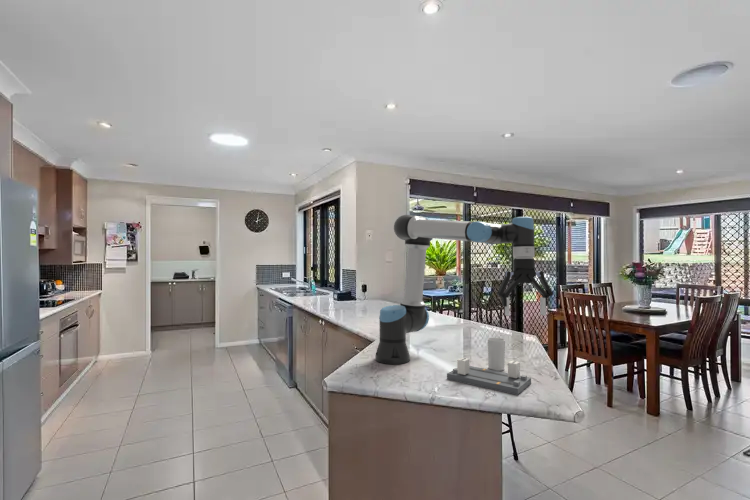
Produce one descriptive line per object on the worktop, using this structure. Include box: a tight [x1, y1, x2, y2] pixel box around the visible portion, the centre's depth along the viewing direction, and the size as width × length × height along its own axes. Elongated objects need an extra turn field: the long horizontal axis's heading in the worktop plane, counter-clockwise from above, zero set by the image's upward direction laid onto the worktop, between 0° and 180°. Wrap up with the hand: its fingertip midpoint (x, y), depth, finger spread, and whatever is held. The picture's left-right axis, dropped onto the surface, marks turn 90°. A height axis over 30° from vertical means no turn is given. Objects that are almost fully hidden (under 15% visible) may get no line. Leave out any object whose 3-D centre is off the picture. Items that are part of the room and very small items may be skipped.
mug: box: [487, 337, 506, 372], centre depth 156 cm, size 10×7×12 cm, turn 162°
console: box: [446, 365, 532, 396], centre depth 138 cm, size 26×15×3 cm, turn 52°
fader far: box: [507, 360, 521, 378], centre depth 137 cm, size 3×4×5 cm
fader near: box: [456, 357, 471, 375], centre depth 140 cm, size 3×4×5 cm
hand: (525, 315), depth 140 cm, fingers open, 13 cm apart
